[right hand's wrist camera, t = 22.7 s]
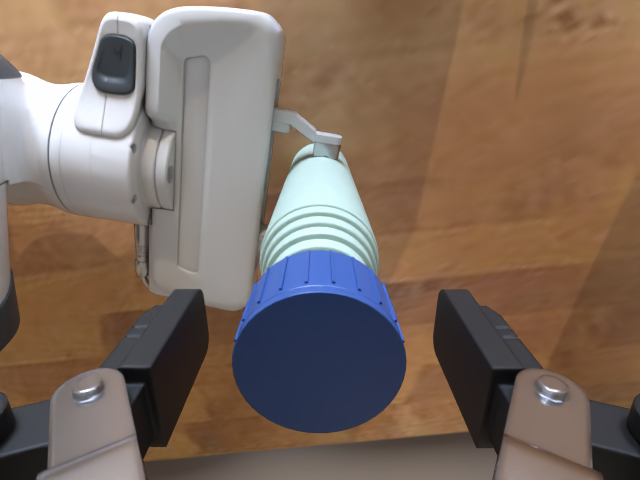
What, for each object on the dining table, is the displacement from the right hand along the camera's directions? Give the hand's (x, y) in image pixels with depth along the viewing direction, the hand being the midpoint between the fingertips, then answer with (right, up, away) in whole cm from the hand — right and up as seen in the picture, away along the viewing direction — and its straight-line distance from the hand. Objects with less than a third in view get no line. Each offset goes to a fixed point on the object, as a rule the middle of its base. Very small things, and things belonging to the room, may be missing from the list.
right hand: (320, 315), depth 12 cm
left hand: (+1, +6, +16) cm, 17 cm away
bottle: (0, +8, +22) cm, 23 cm away
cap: (0, -1, -2) cm, 2 cm away
